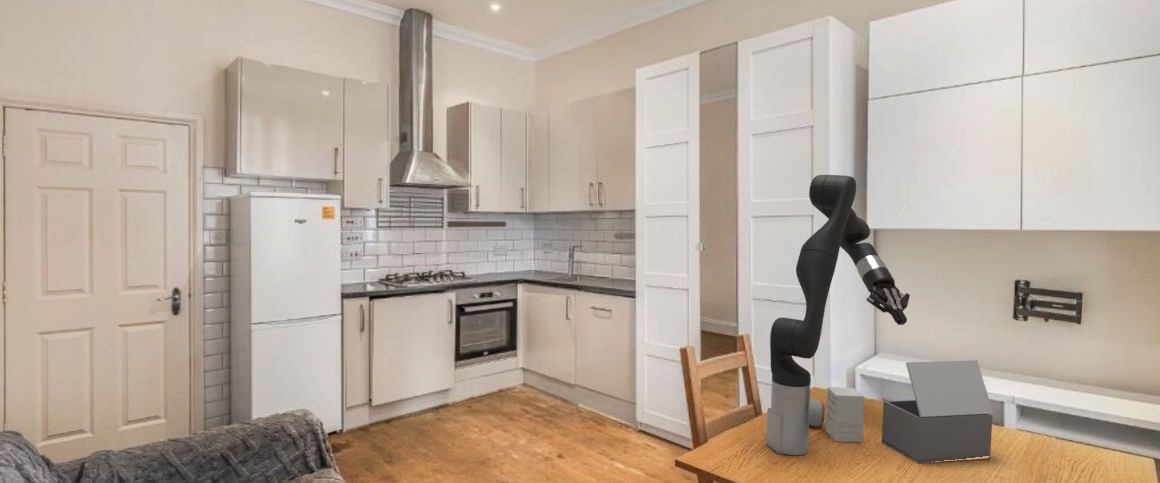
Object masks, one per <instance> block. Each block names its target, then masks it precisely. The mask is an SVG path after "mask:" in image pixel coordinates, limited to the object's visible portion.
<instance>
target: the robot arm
mask: <svg viewBox="0 0 1160 483" xmlns="http://www.w3.org/2000/svg"><path fill="white" fill-rule="evenodd" d="M856 193H857V181H856V179H855V178H854V176H851V175H841V174H840V175H839V174H818V175H816V176H814V177H813V178H812V180H811V182H810V185H809V191H808V195H809V196H808V197H809V200H810V203H811V205H813V207H814V208H815V209H816V210H818V211H819V212H820V213H821V214H822V215H823V216H825V217H826V218H827V219H828V220H827V221H826V222H825V223H824V225H822V226H821V227H820V228H819V229H818V230H817V231H816V232H814V233H813V234H812V235H811V236H810V237H809V238H807V240H806V241H805V242H804V243H803V245H802V246H801V248H800V251H799V252H800V253H799V255H798V258H797V262H796V266H795V267H796V268H795V273H796V277H797V280H798V283H799V285H800V288H801V290H802V292H803V296H804V299H805V303H806V304H805V315H804V318H803V320H802V319H797V318H789V317H778V318H776V319H775V320H774V321H773V323H772V325H771V328H770V335H769V338H770V339H769V344H770V345H769V346H770V347H769V348H770V349H769V350H770V372H771V394H770V395H771V396H770V397H771V398H770V407H769V408H767V411H766V412H767V413H766V414H767V415H766V440H765V441H766V442H765V444H766V445H767V446H768V447H770V449H772V450H773V451H774V452H775V453H777V454H783V455H790V456H801V455H802V456H803V455H806V454H807V453H808V451H809V433H810V432H809V430H810V428H809V427H810V426H809V409H810V399H811V384H812V383H811V382H812V380H811V379H812V378H811V377H812V376H811V373H810V372H809V371H808V370H807V369H806V368H805V367H802V366H801V365H800V364H798V363H797V361H795V359H794V358H793V357H796V358H802V359H809V360H810V359H812V358H813V357H814V356H815V355H816V353H817V351H818V348H819V346H820V341H821V336H822V330H823V325H824V324H823V323H824V317H825V312H826V311H825V310H826V306H827V300H828V297H829V293H830V292H829V291H830V288H831V285H832V281H833V277H834V275H835V270H836V267H837V263H838V259H839V253H840V249H842V250H843V251H844V252H845V253H846V254H848V256H849V257H850V258H851V260H852V262H853V263H854V265H855V268H856V270H857V273H858V275H859V277H860V279H861V281H862V282H863V284H864V285H865V288H866V289H867V291H868V293H870V294H869V295H868V296H867V298H866V301H867V302H868V303H869V304H871V305H872V306H874V308H875V307H876V309H878V310H879V311H881V312H882V313H888V314H890V315H891V317H892V319H893V320H894V322H895V323H896V324H897V326H904V325H905V324H906V323H907V322H908V319H907V316H906V314H905V313H904V311H905V310H906V309H907V307H908V306H909V305H908V304H909V300H910V296H911V295H910V294H909V293H906V292H905V293H902V292H901V291H900V289H899V288H898V287H897V286H896V282H895V279H894V278H893V275H892V274H891V272H890V271H889V269H888V267H887V265H886V264H885V262H884V261H883V260H882V259H881V257H880V256H879V254H878V252H877V251H876V249H875V248H874V246H873V244H871V243H869V242H863V241H865V240H867V239H868V238H869V237H870V234H871V229H870V226H869V225H868V223H867V222H866V221H865V220H864V219H862V218H860V217H858V216H857V214H856V211H855V210H854V208H852V207H853V205H854V202H855V198H856Z"/></svg>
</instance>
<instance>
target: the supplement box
mask: <svg viewBox="0 0 1160 483" xmlns="http://www.w3.org/2000/svg"><path fill="white" fill-rule="evenodd" d="M825 415H826V416H825V417H826V418H825V419H826V420H825V431H826V433H827V434H828V435H829V436H830V438H831V439H832V440H833V441H834V442H842V443H845V442H846V443H848V442H849V443H863V442H864V441H863V440H864V416H865V395H863V394H862V393H861V392H860V391H858V390H857V389H855V387H839V386H838V387H835V386H827V389H826V412H825Z"/></svg>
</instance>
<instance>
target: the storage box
mask: <svg viewBox="0 0 1160 483" xmlns="http://www.w3.org/2000/svg"><path fill="white" fill-rule="evenodd" d="M882 408H883V409H882V428H881V443H882V442H883V443H882V444H884V443H885V444H884V445H886V444H887V445H886V446H888V447H889V446H890V448H891V447H892V448H891V449H893V450H894V449H895V450H894V451H896V450H897V451H896V452H898V451H899V452H898V453H900V454H901V453H902V455H903V454H904V455H903V456H905V457H907V458H908V457H909V458H908V459H910V458H911V459H910V460H912V461H913V460H914V462H915V461H916V462H915V463H917V462H918V463H917V464H919V463H921V464H926V463H925V462H932V461H933V462H935V461H944V460H955V459H957V460H958V459H966V458H975V457H983V456H990V457H991V449H992V448H991V447H992V429H993V415H992V414H972V415H952V416H932V417H920V414H919V411H918V407H917V403H916V399H903V400H902V399H901V400H884V401H883V406H882ZM923 462H924V463H923Z"/></svg>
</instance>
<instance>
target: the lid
mask: <svg viewBox="0 0 1160 483" xmlns="http://www.w3.org/2000/svg"><path fill="white" fill-rule="evenodd" d="M905 365H906V368H907V373H908V376H909V380H910V383H911V388H912V392H913V395H914V400H916V403H917V407H918V411H919V414H920V417H932V416H952V415H972V414H990V415H992V414H994V410H993V407H992V404H991V401H990V397H989V394H988V392H987V389H986V384H985V382H984V381H985V380H984V378H983V375H982V371H981V368H980V365H979V362H978V360H977V359H976V360H947V361H946V360H944V361H943V360H941V361H918V362H917V361H916V362H914V361H912V362H905Z"/></svg>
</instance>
